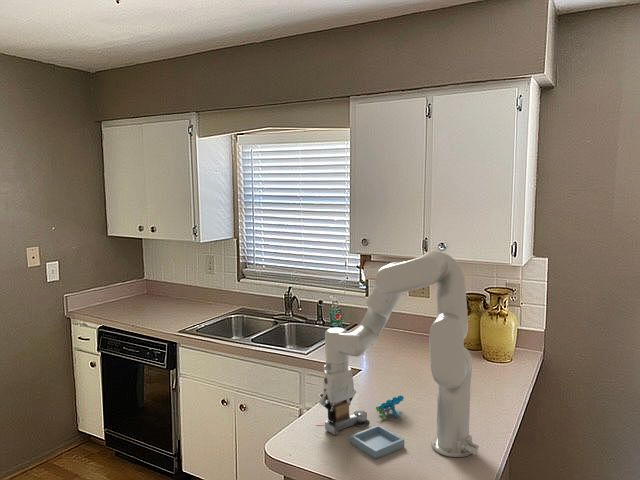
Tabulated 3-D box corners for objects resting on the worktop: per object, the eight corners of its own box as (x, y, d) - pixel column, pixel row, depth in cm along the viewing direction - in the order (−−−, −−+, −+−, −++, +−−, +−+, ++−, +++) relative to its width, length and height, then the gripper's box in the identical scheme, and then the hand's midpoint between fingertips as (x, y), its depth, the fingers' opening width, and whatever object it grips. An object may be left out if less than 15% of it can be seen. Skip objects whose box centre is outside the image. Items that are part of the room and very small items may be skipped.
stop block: (349, 420, 174) (348, 403, 173) (337, 425, 171) (336, 407, 171) (340, 415, 178) (339, 398, 177) (328, 419, 175) (327, 402, 175)
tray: (404, 447, 159) (404, 439, 159) (375, 459, 152) (375, 451, 152) (378, 432, 169) (378, 424, 168) (350, 443, 162) (350, 435, 162)
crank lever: (360, 416, 179) (360, 409, 178) (370, 421, 175) (370, 414, 174) (325, 429, 170) (324, 421, 170) (334, 435, 166) (334, 427, 166)
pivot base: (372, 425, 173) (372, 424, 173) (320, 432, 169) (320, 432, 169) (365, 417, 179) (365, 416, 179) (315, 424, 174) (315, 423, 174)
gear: (396, 401, 187) (405, 390, 180) (404, 417, 184) (414, 406, 177) (370, 411, 183) (378, 401, 175) (377, 428, 180) (386, 417, 172)
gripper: (323, 375, 165) (324, 430, 167) (364, 363, 174) (365, 415, 176) (309, 368, 171) (311, 422, 173) (350, 357, 180) (351, 407, 183)
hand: (338, 418), depth 175 cm, fingers closed on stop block, 5 cm apart
